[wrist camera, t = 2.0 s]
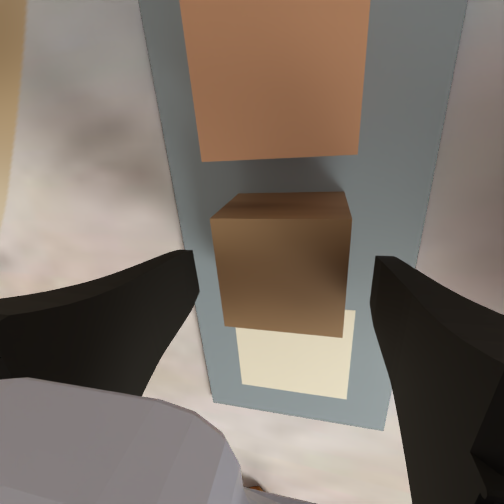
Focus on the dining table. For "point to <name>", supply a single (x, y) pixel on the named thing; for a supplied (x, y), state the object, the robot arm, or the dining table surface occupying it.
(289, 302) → the walnut block
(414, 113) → the board
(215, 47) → the terracotta block
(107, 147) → the dining table surface
